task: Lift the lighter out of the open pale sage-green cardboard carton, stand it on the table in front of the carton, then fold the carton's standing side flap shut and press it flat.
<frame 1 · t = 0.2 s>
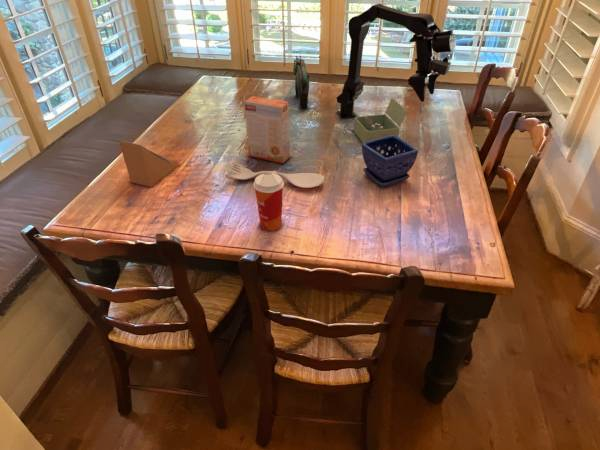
hand: (427, 97, 161), 15 cm above the table, tool pointing down, fingers open, 9 cm apart
spoon: (275, 181, 144), on the table
coffee cup: (270, 225, 125), on the table
flower pot: (385, 178, 145), on the table
carton: (374, 136, 170), on the table
sandwich container: (155, 173, 149), on the table
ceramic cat: (302, 102, 199), on the table
flap: (395, 111, 166), point 9 cm above the table, hinge at 110.0°
lighter: (372, 136, 170), resting on carton
cracker box: (269, 157, 157), on the table
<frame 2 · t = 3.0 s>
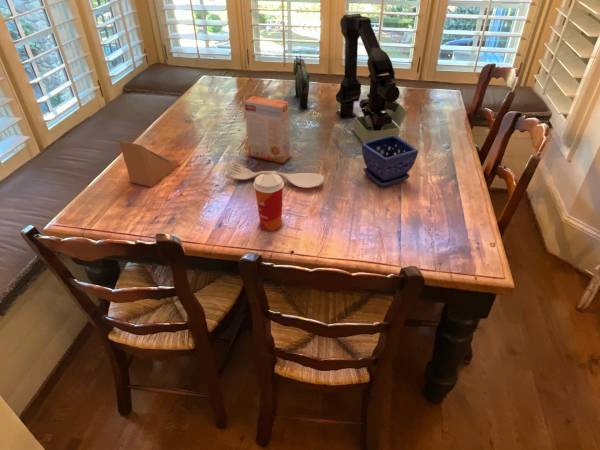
hand: (373, 132, 169), 2 cm above the table, tool pointing down, fingers open, 7 cm apart
nothing on the table moved.
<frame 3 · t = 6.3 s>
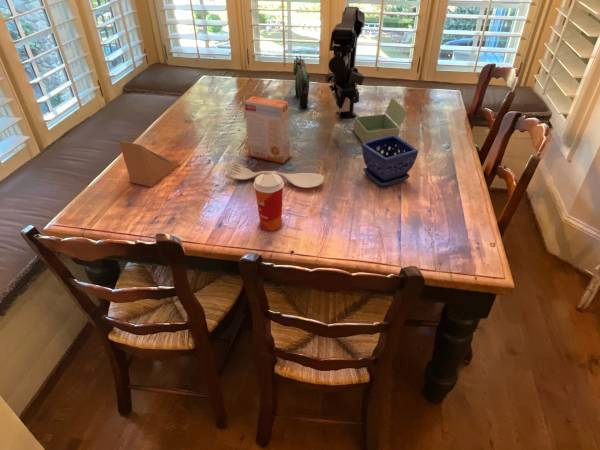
hand: (339, 107, 163), 12 cm above the table, tool pointing down, fingers closed on lighter
lighter: (339, 111, 164), point 10 cm above the table, touching gripper
everything else where it was.
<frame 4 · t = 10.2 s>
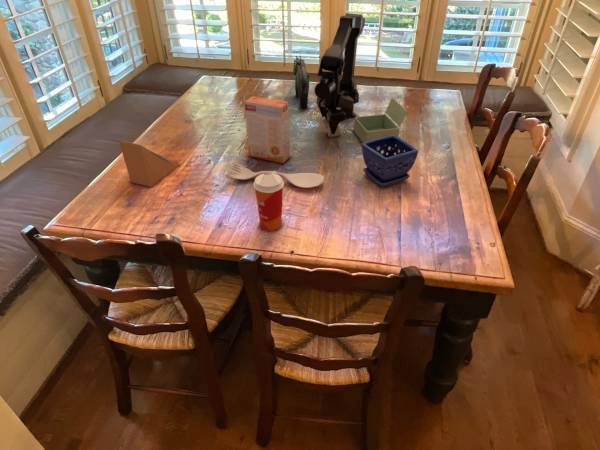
hand: (329, 129, 169), 3 cm above the table, tool pointing down, fingers open, 9 cm apart
lighter: (330, 136, 171), on the table
everything else where it was.
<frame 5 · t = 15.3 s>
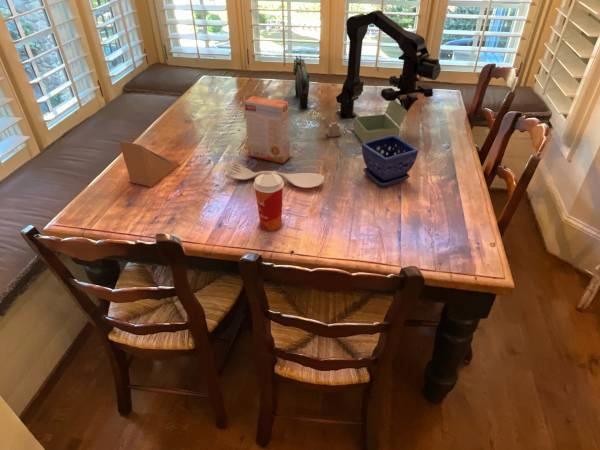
hand: (403, 114, 167), 8 cm above the table, tool pointing down, fingers closed
flap: (395, 111, 166), point 10 cm above the table, hinge at 108.6°, touching gripper
everything else where it was.
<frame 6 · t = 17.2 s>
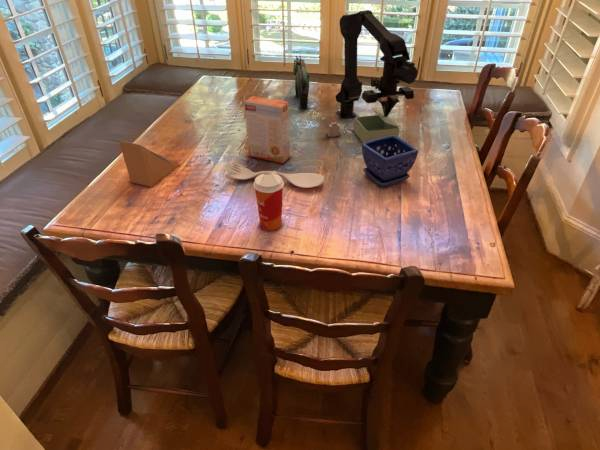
hand: (385, 116, 166), 8 cm above the table, tool pointing down, fingers closed
flap: (385, 117, 166), point 8 cm above the table, hinge at 21.8°
everything else where it was.
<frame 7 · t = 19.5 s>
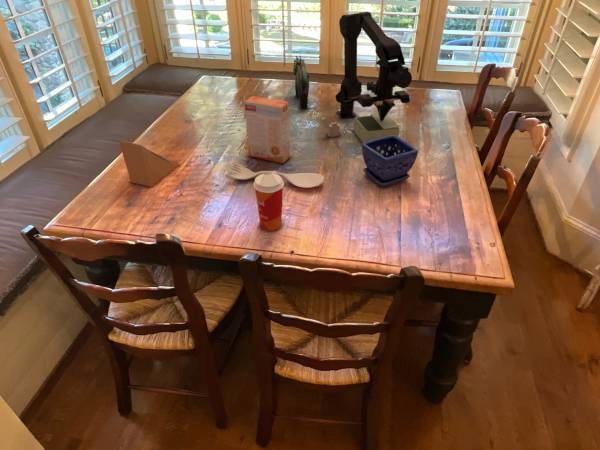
hand: (381, 120, 166), 7 cm above the table, tool pointing down, fingers closed, pressing on flap
flap: (384, 120, 167), point 6 cm above the table, hinge at -0.7°, touching gripper
everything else where it was.
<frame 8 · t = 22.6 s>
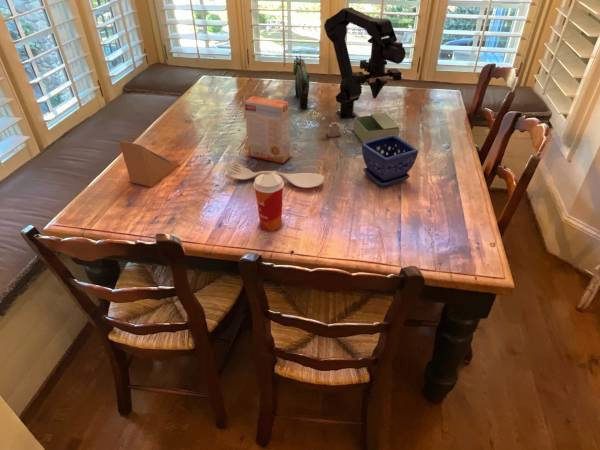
hand: (374, 98, 170), 12 cm above the table, tool pointing down, fingers closed
flap: (384, 120, 167), point 6 cm above the table, hinge at -1.3°
everything else where it was.
at the end: lighter inside the target area (0.2 cm from its centre), on the table; lighter tilted 0°; flap at -1° (first picture: +110°) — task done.
